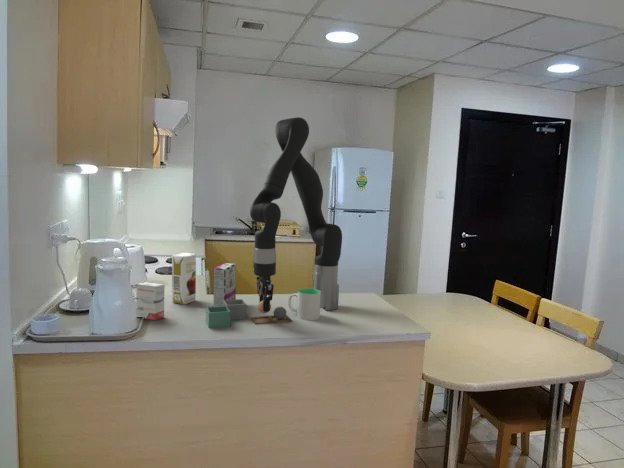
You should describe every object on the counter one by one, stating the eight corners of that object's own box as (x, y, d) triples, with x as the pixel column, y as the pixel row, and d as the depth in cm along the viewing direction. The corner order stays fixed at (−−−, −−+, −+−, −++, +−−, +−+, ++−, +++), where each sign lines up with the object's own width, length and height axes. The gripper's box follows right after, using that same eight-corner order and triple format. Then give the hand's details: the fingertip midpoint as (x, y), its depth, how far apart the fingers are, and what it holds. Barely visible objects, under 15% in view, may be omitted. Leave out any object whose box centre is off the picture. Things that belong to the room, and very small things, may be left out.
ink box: (165, 316, 168) (165, 283, 167) (156, 320, 164) (156, 286, 162) (144, 313, 171) (144, 281, 170) (135, 317, 166) (135, 284, 165)
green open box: (226, 322, 164) (226, 305, 163) (230, 329, 158) (230, 311, 157) (205, 324, 162) (205, 307, 161) (208, 330, 155) (208, 312, 155)
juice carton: (169, 302, 186) (169, 254, 184) (182, 297, 194) (183, 251, 192) (185, 305, 183) (185, 256, 181) (198, 300, 191) (198, 253, 189)
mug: (283, 319, 170) (284, 291, 169) (291, 313, 178) (292, 286, 177) (315, 324, 167) (316, 295, 165) (322, 317, 174) (323, 290, 173)
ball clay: (269, 310, 168) (269, 298, 167) (272, 314, 163) (272, 301, 163) (256, 311, 166) (256, 299, 165) (259, 315, 162) (259, 302, 161)
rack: (286, 318, 172) (286, 314, 171) (292, 324, 165) (292, 320, 165) (250, 321, 167) (250, 316, 167) (255, 327, 161) (255, 322, 160)
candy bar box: (223, 303, 188) (224, 262, 186) (235, 304, 187) (236, 263, 185) (212, 311, 177) (213, 267, 175) (225, 312, 176) (225, 268, 174)
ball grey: (284, 317, 170) (284, 304, 169) (287, 320, 166) (288, 308, 165) (271, 317, 168) (272, 305, 168) (275, 321, 164) (275, 309, 164)
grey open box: (242, 315, 174) (242, 299, 173) (246, 320, 167) (246, 304, 166) (222, 316, 171) (223, 300, 170) (226, 322, 165) (226, 305, 164)
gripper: (281, 264, 157) (280, 314, 159) (269, 256, 170) (269, 303, 172) (259, 265, 154) (259, 316, 157) (249, 257, 168) (249, 304, 170)
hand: (264, 309), depth 165 cm, fingers closed on ball clay, 4 cm apart
